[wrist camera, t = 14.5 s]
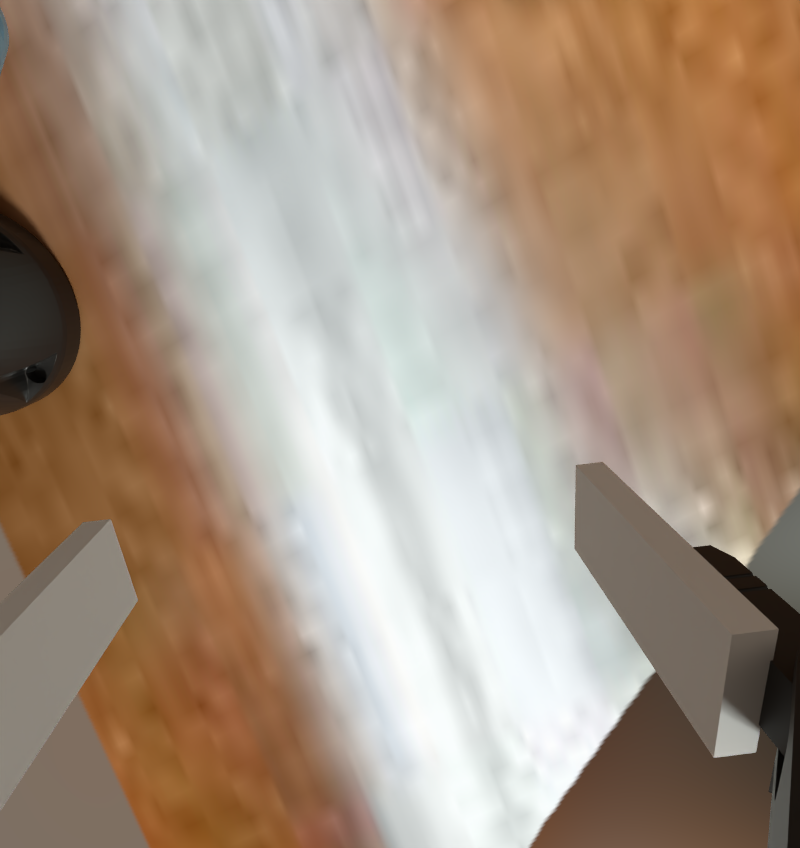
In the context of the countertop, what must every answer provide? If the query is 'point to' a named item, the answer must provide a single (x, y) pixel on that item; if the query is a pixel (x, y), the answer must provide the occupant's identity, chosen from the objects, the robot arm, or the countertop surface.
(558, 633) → the countertop surface
